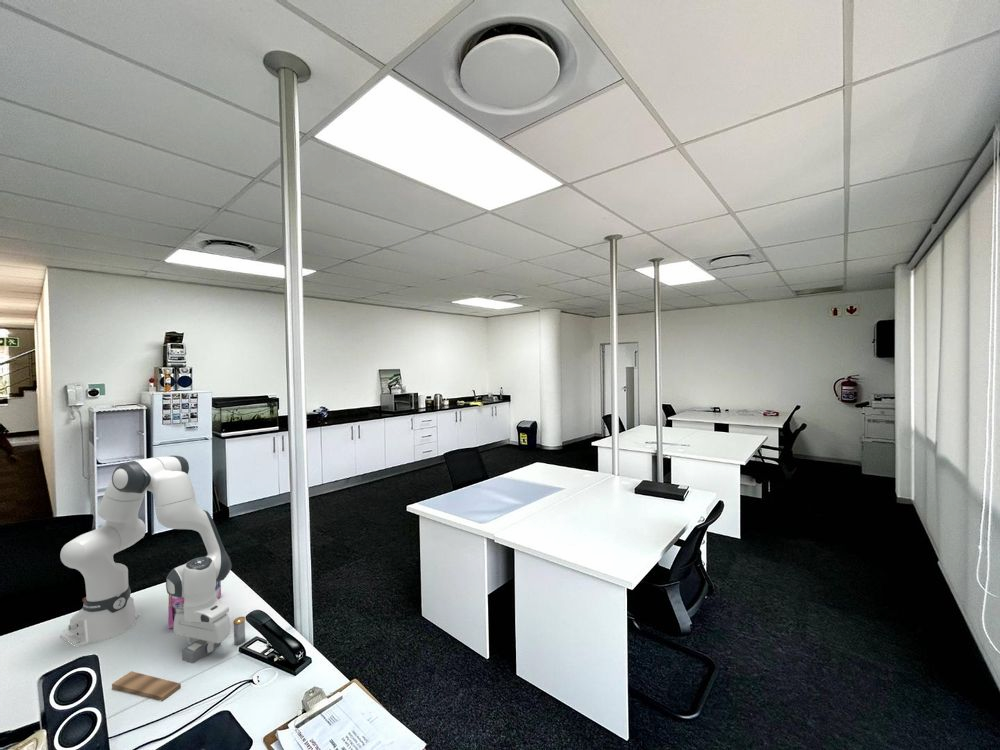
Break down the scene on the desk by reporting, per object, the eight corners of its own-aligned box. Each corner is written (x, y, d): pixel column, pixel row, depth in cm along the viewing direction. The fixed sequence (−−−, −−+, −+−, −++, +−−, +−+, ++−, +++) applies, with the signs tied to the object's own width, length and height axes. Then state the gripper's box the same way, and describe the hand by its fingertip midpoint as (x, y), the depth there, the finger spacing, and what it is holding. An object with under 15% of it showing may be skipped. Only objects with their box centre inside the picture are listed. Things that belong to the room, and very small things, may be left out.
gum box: (187, 629, 145) (186, 595, 145) (165, 631, 144) (164, 597, 144) (221, 594, 168) (221, 565, 167) (202, 596, 167) (201, 566, 166)
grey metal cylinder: (231, 646, 136) (230, 621, 136) (240, 639, 139) (239, 615, 139) (239, 648, 135) (238, 623, 135) (248, 641, 138) (247, 617, 138)
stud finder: (182, 662, 129) (181, 649, 129) (210, 643, 137) (210, 631, 137) (192, 665, 127) (192, 652, 127) (220, 647, 136) (220, 634, 136)
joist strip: (112, 691, 117) (111, 683, 117) (131, 678, 122) (131, 671, 122) (162, 705, 112) (162, 697, 112) (180, 691, 117) (180, 683, 117)
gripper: (166, 610, 132) (168, 651, 132) (215, 619, 126) (216, 661, 127) (186, 599, 138) (187, 638, 138) (233, 607, 133) (234, 648, 133)
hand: (201, 649), depth 132 cm, fingers closed on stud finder, 5 cm apart
